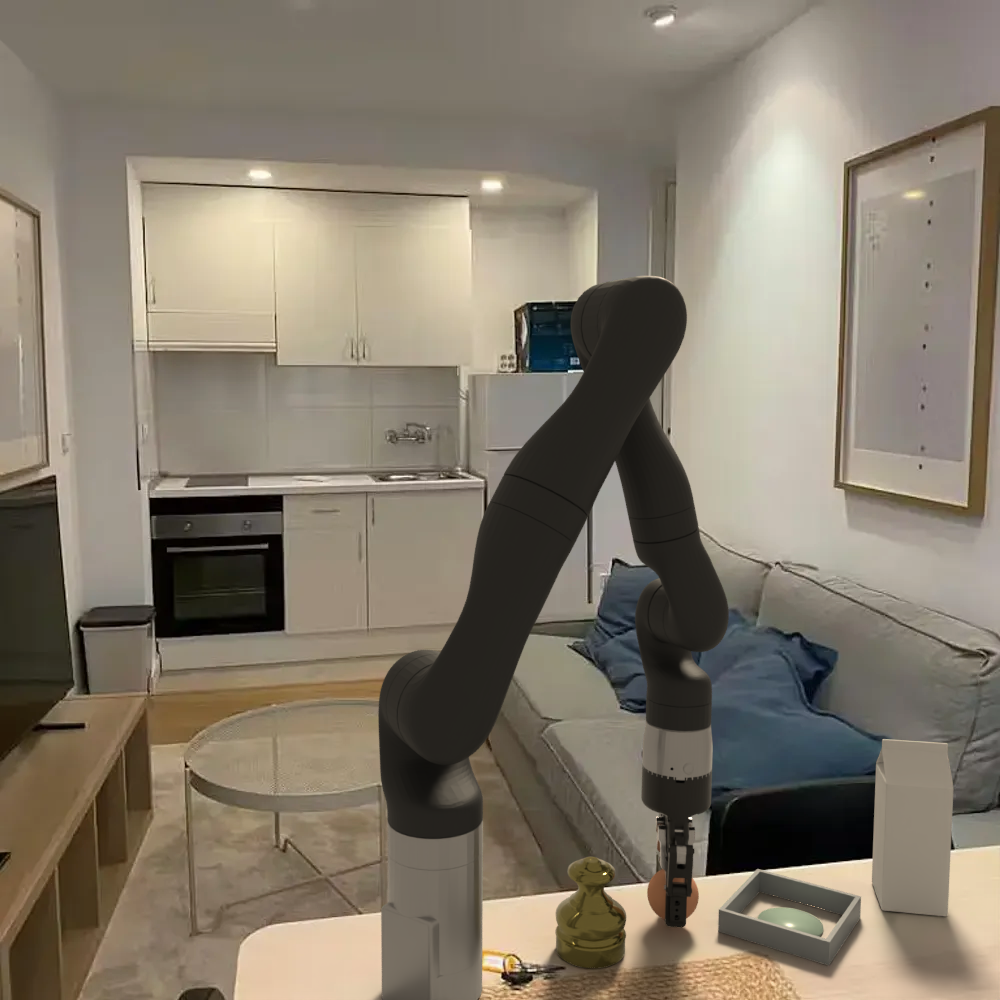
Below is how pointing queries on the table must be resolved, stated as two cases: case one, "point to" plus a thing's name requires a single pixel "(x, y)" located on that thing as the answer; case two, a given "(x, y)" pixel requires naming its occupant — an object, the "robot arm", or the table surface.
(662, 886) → the ball
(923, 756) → the milk carton
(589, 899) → the olive green chess piece
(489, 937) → the table surface
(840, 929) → the grey soap tray
